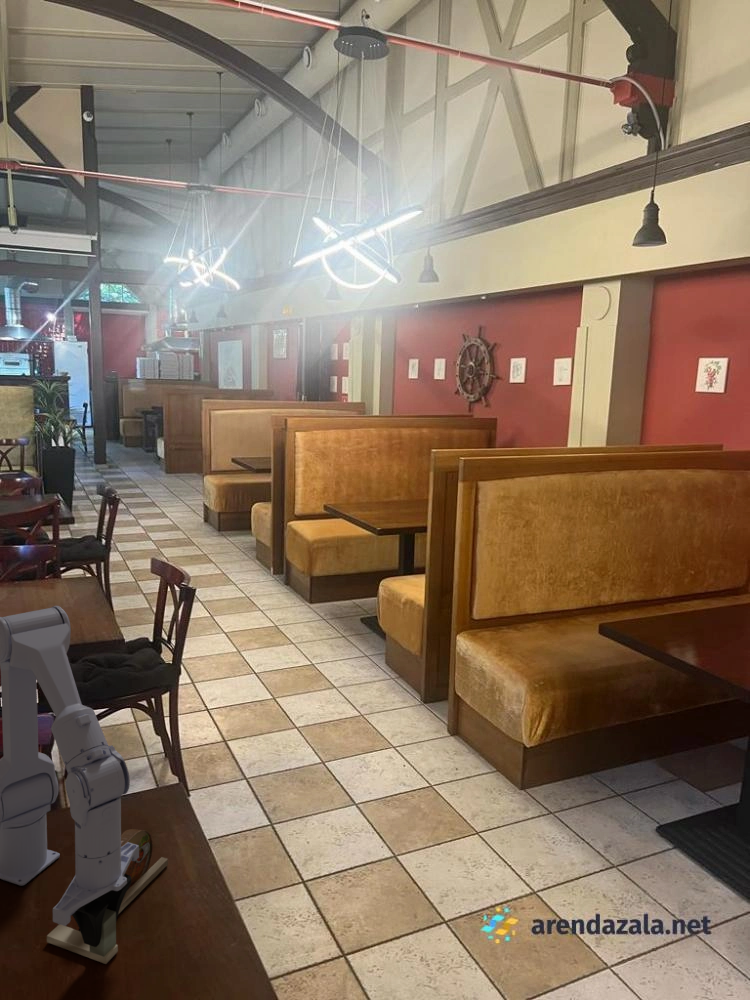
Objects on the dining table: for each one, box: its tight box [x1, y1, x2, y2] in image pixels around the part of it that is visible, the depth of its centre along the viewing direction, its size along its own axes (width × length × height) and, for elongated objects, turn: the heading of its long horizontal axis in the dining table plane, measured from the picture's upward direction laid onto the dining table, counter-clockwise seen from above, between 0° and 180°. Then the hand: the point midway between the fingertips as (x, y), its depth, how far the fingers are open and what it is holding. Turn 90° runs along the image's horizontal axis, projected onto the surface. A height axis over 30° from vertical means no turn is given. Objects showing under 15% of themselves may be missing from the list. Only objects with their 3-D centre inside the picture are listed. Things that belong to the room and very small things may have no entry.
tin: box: [121, 828, 154, 889], centre depth 109 cm, size 15×3×8 cm, turn 163°
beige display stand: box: [46, 856, 169, 965], centre depth 107 cm, size 10×20×6 cm, turn 161°
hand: (99, 935), depth 98 cm, fingers closed on beige display stand, 2 cm apart
